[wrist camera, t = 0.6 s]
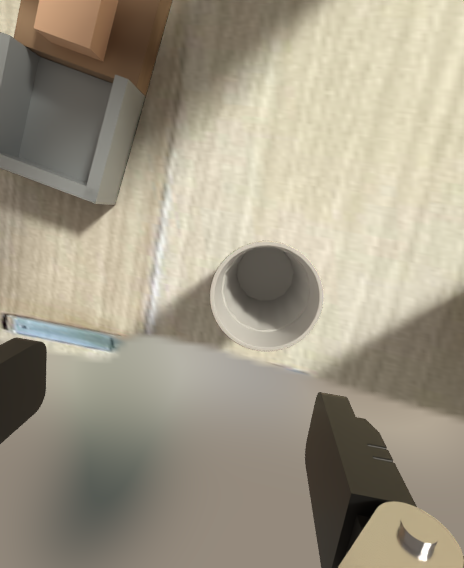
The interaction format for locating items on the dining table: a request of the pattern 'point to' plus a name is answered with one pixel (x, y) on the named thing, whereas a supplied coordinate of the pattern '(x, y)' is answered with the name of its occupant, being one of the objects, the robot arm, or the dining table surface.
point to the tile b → (77, 24)
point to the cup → (266, 296)
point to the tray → (65, 124)
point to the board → (121, 46)
